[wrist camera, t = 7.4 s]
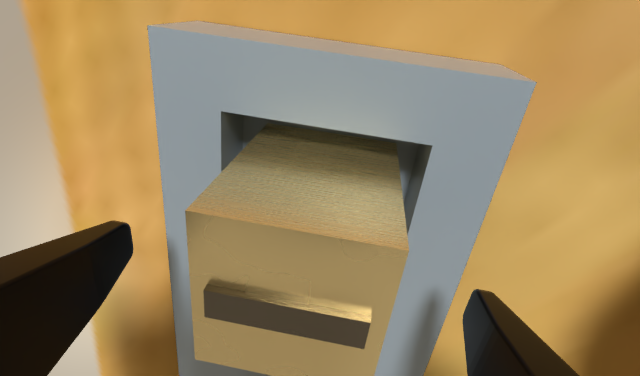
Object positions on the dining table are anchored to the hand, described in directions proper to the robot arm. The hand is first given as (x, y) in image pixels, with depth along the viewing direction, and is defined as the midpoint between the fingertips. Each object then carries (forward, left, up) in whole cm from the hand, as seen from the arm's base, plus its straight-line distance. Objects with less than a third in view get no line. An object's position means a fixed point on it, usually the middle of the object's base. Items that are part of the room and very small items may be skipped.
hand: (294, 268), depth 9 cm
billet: (0, 0, -4) cm, 5 cm away
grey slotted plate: (-3, +5, -6) cm, 8 cm away
